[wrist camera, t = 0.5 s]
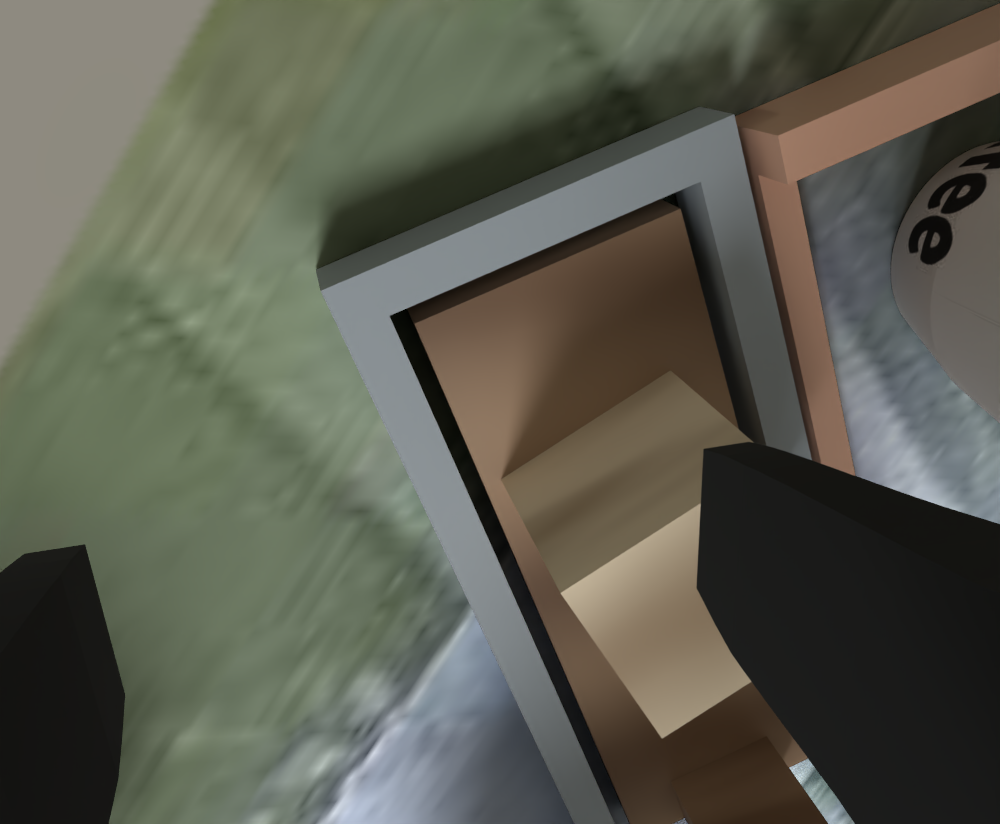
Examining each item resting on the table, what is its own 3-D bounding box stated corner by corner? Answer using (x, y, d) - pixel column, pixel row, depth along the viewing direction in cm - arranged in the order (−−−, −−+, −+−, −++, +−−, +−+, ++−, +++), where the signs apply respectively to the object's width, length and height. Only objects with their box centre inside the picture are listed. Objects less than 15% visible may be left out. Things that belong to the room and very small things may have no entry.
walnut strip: (801, 722, 28) (911, 864, 23) (622, 808, 27) (697, 970, 23) (657, 198, 20) (779, 254, 15) (405, 306, 20) (451, 398, 15)
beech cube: (744, 511, 23) (849, 619, 19) (589, 609, 23) (662, 738, 19) (670, 370, 20) (771, 457, 16) (500, 479, 21) (560, 593, 17)
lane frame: (1222, 545, 29) (1271, 572, 28) (589, 849, 28) (607, 894, 26) (1241, -124, 20) (1315, -135, 19) (316, 269, 19) (320, 290, 17)
